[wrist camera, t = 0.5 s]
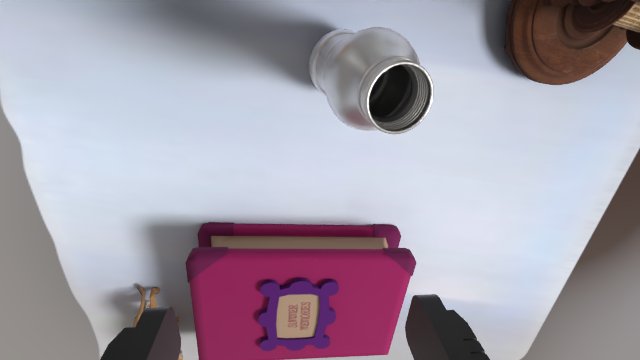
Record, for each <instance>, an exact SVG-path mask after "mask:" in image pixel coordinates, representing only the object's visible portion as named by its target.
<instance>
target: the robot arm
mask: <svg viewBox="0 0 640 360" xmlns="http://www.w3.org/2000/svg"><path fill="white" fill-rule="evenodd" d="M405 331H406V338H407V342H408V345H409V347H410V350H411V353H412V355H413V358H414V360H490V359H489V357H488V356H487V354H485V352H484V349H483V348H482V346H481V344H480V343H479V341H477V338H476V336H475V335H474V333H473V331H472V330H471V328H470V326H469V325H468V323H467V322H466V321H465V320H464V319H463V318H462V317H461V316H459V315H458V314H457V313H456V312H455V311H454V310H446V308H445V307H444V305H443V303H442V301H441V300H440V298H439V297H438V296H437V295H435V294H432V295H415V296H413V298H412V301H411V305H410V309H409V313H408V317H407V321H406V326H405ZM180 348H181V337H180V333H179V329H178V325H177V321H176V317H175V313H174V309H173V308H172V307H160V308H146V309H145V310H144V311H143V312H142V314H141V316H140V318H139V320H138V322H137V324H136V326H135V327H132V328H124V329H123V330H122V331H121V332H120V333H119V334H118V335H117V336H116V337H115V338H114V339H113V340H112V341H111V342H110V344H109V345H108V347H107V348H106V350H105V352H104V354H103V356H102V357H101V359H100V360H178V358H179V354H180Z"/></svg>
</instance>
